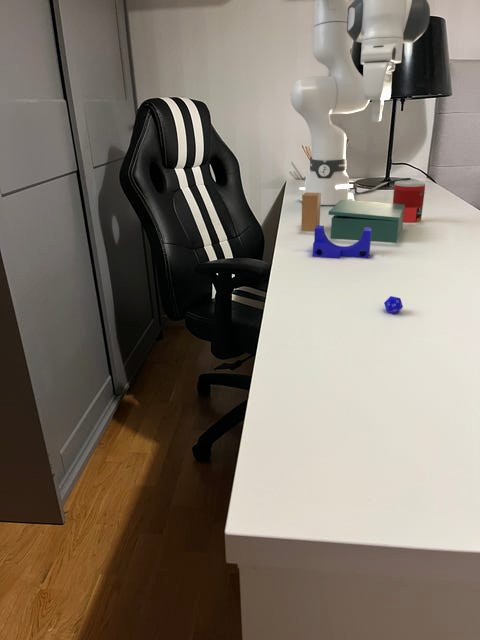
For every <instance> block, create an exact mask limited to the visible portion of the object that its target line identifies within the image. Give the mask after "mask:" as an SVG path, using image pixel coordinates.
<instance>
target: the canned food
mask: <svg viewBox="0 0 480 640" xmlns="http://www.w3.org/2000/svg"><path fill="white" fill-rule="evenodd" d="M393 186H394V187H393V196H392V197H393V198H392V204H403V205H405V207H404V217H403V224H404V223H406V224H407V223H408V224H413V223H415V224H416V223H419V222H422V216H423V209H424V199H425V193H426V192H425V191H426V182H425V181H422V180H415V179H414V180H413V179H410V180H402V181H396V182H394V185H393Z"/></svg>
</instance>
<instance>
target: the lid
mask: <svg viewBox="0 0 480 640" xmlns="http://www.w3.org/2000/svg"><path fill="white" fill-rule="evenodd" d="M404 207H405V205H403V204H393V203H389V202H379V201H366V200H355V199H354V200H343V199H342V200H340V201H339V202H338V203H337V204H336V205H333V207H331V209H329V210H328V215H329V216H334V215H338V216H349V217H359V218H370V219H381V220H391V221H399V219H400V217H401V214H402V212H403V210H404Z"/></svg>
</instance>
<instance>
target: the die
mask: <svg viewBox="0 0 480 640" xmlns="http://www.w3.org/2000/svg"><path fill="white" fill-rule="evenodd" d="M383 305H384V307H385V310H386V313H391V314H395V315H397V314H398V313H399V312H400V311H401V310H402V309H403V308H404V306H403V301H402V299H401V297H397V296H392V295H390V296H389V297H388V298H387V299H386V300H385V301H384V302H383Z"/></svg>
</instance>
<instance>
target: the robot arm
mask: <svg viewBox="0 0 480 640" xmlns="http://www.w3.org/2000/svg"><path fill="white" fill-rule="evenodd" d="M349 4H350V5H349ZM430 17H431V8H430V4H429V2H428V0H353V2H351V3H350V0H314V7H313V15H312V55H313V57H314V58H315V60H316V61H317V62H318V63H320V64H321V65H323V66H325V67H326V68H327V69H328V71H329V74H330V75H326V76H324V75H321V76H319V75H318V76H308V77H304V78H300V79H298V80H296V82H295V83H294V84H293V86H292V88H291V92H290V102H291V105H292V107H293V109H294V110H295V111H296V113H298V114H299V115H300V116H301V117H302V118H303V120H304V121H305V123H306V124H307V126H308V128H309V129H308V130H309V132H310V136H311V137H310V138H311V158H310V160H309V161H310V162H309V171H310V172H309V174H307V175H306V176H305V179H304V187H299V190H301V191H302V190H303V191H304V193H306V192H309V193H321V205H320V206H335V205H336V204H337V203H338V202H339V201H340V200H342V199H343V200H355V196H354V194H356V195H363V194H367V193H370V192H373V191H375V190H378V189H379V188H381V187H384V186H385V185H388V184H387V183H388V182H389V184H393V183H395V182H396V181H402V180H412V178H411V177H406V178H405V177H404V178H399V179H394V180H389V181H386V182H383V183H381V184H378V185H377V186H375V187H373V188H370V189H367V190H365V191H360V192H359V191H358V187H357V185H356V184H357V182H356V180H355V181H354V180H350V177H349V175H348V174H347V171H346V170H347V164H348V162H347V158H346V152H347V150H346V149H347V135H346V133H345V131H344V129H342V128H341V127H339V126H338V125H335V124H333V122H332V119H331V115H336V114H339V115H340V114H341V115H342V114H353V113H356V112H361V111H363V110H365V109H366V108H367V106H368V105H369V103H370V101H371V105H370V106H371V122H373V123H378V122H380V121H382V115H383V114H382V113H383V109H384V103H385V102H384V101H386V100H387V101H388V100H390V99H391V95H392V82H393V72H394V71H395V70H396V64H401V63H402V58H403V45H404V44H411V45H412V44H413V43H415V42H416V41H417V40H419V38H420V37H422V36H423V34H424V33H425V32H426V31H427V29H428V26H429V24H430V19H431V18H430ZM350 39H352V41H354V42H356V43H361V49H360V50H361V51H360V65H362V66H363V69H362V71H363V72H362V73H360V72H359V70H358V68H357V67H356V65H355V63H354V60H353V58H352V54H351V42H350ZM352 190H354V193H352ZM304 193H303V194H304ZM299 202H302V196H301V197H299Z"/></svg>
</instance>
